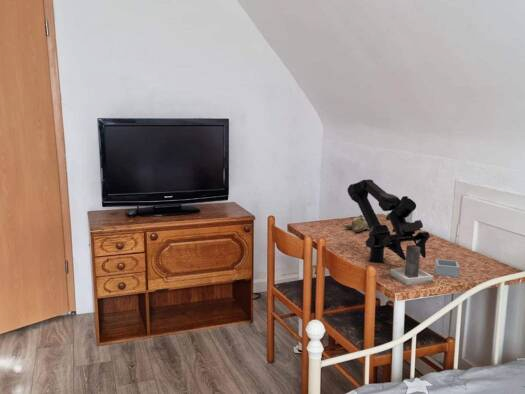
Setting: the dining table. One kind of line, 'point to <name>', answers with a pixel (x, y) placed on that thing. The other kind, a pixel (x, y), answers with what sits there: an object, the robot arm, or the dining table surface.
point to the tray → (421, 278)
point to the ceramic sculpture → (358, 224)
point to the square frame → (447, 268)
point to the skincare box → (409, 218)
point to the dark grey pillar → (412, 261)
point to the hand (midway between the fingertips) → (414, 258)
